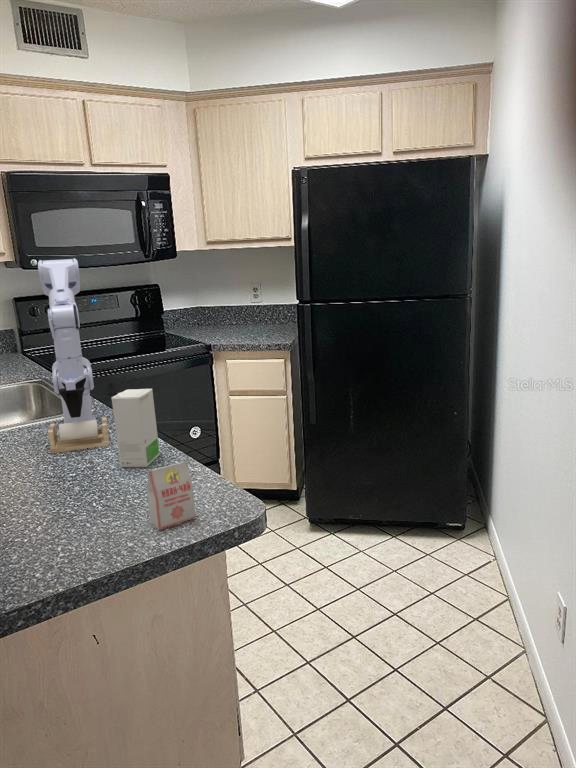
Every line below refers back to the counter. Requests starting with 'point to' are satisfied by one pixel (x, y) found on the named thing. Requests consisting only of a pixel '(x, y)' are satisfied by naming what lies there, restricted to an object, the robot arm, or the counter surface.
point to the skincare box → (135, 427)
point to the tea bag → (170, 495)
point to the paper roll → (78, 430)
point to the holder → (80, 443)
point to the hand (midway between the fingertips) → (76, 412)
